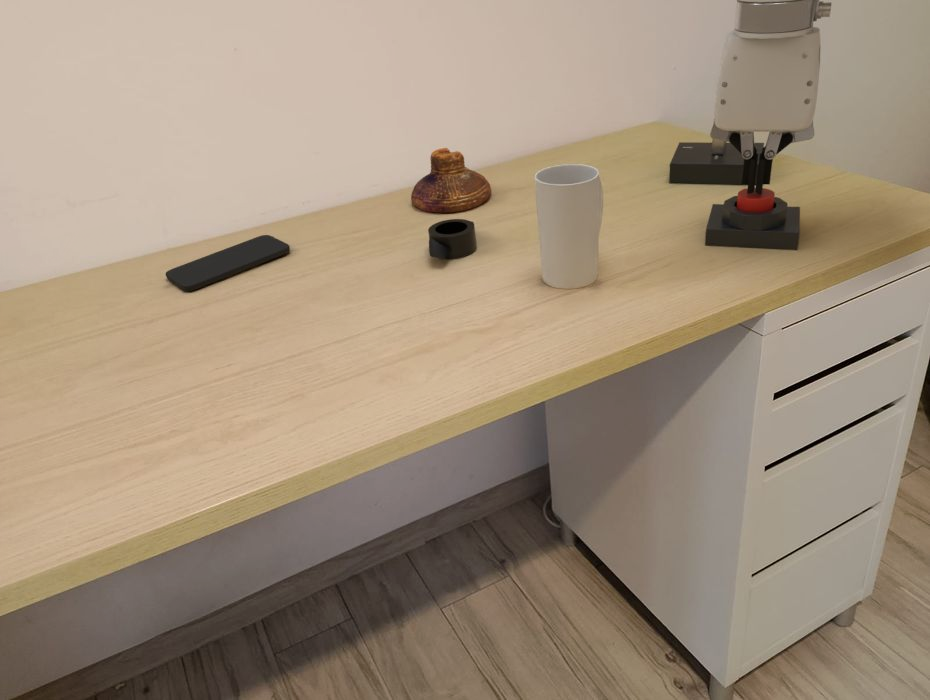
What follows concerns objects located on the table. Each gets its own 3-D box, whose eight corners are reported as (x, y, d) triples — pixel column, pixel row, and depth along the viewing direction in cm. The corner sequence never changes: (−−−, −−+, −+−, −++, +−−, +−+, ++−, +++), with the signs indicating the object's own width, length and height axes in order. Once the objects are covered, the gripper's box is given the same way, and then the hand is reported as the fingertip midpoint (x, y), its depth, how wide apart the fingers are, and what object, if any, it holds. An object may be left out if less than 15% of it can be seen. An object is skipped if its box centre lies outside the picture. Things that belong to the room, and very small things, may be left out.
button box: (797, 223, 90) (802, 192, 88) (797, 250, 84) (801, 217, 82) (711, 220, 94) (713, 189, 92) (704, 246, 88) (707, 214, 86)
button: (773, 202, 88) (775, 187, 87) (772, 214, 85) (774, 200, 84) (737, 201, 89) (739, 186, 88) (735, 213, 86) (736, 198, 85)
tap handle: (715, 142, 111) (717, 106, 108) (726, 142, 110) (729, 106, 108) (711, 154, 106) (713, 117, 104) (723, 154, 106) (725, 117, 103)
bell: (405, 194, 114) (398, 147, 111) (481, 181, 116) (477, 134, 112) (419, 220, 104) (412, 169, 101) (501, 205, 106) (497, 154, 102)
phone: (162, 272, 96) (266, 233, 103) (164, 278, 96) (267, 238, 104) (184, 288, 91) (292, 246, 98) (187, 294, 91) (294, 251, 99)
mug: (577, 296, 80) (574, 188, 74) (527, 282, 84) (521, 179, 78) (627, 261, 86) (628, 159, 80) (578, 250, 90) (576, 152, 84)
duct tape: (503, 245, 94) (501, 223, 92) (438, 271, 89) (435, 248, 88) (467, 229, 100) (465, 209, 98) (404, 253, 95) (401, 232, 93)
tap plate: (762, 158, 112) (764, 137, 110) (758, 186, 102) (761, 163, 101) (680, 157, 116) (681, 137, 114) (669, 183, 107) (669, 162, 105)
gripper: (853, 7, 77) (825, 180, 86) (701, 14, 82) (691, 177, 91) (857, 20, 71) (827, 204, 80) (693, 26, 76) (683, 199, 85)
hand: (755, 189), depth 86 cm, fingers closed
